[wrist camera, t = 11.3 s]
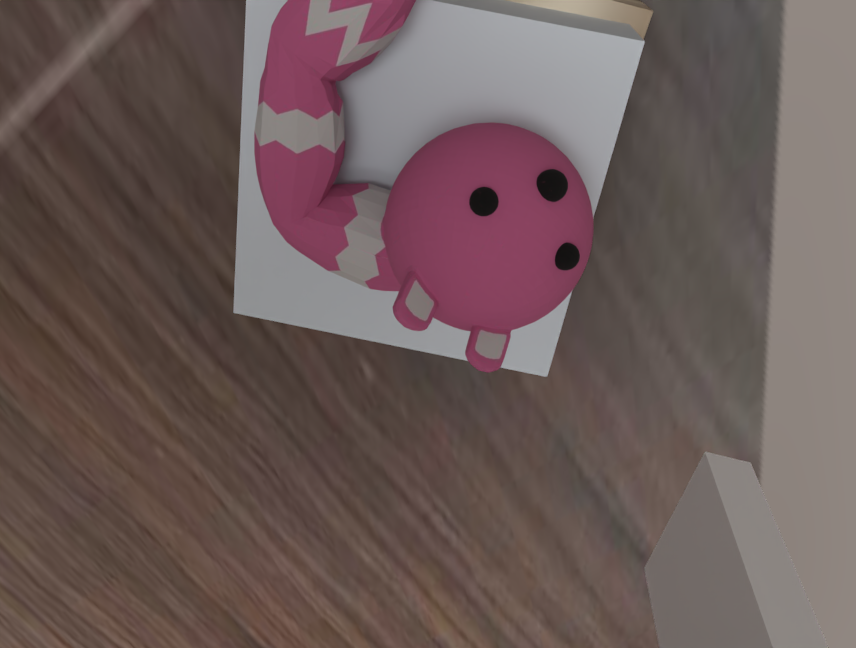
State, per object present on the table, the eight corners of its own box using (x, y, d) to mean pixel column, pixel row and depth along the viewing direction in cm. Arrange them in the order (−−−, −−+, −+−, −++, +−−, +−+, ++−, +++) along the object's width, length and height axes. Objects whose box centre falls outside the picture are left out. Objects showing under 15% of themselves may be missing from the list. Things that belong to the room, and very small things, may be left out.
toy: (690, 86, 23) (619, 373, 18) (520, 203, 30) (441, 427, 26) (378, -168, 19) (197, 109, 15) (274, 35, 27) (134, 260, 22)
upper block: (266, 269, 32) (233, 312, 28) (285, -42, 26) (247, -36, 22) (545, 325, 31) (547, 377, 28) (629, 24, 26) (644, 41, 22)
